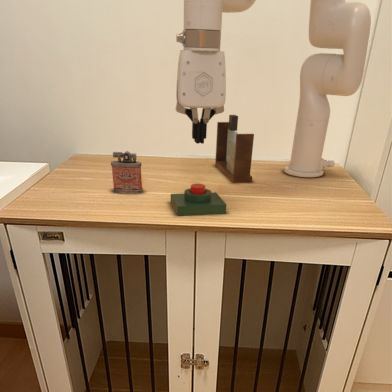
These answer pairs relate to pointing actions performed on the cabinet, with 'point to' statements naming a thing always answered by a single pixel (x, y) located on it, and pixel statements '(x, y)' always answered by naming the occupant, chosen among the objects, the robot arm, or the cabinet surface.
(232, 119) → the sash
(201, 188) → the button
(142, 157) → the cabinet surface
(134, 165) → the lighter
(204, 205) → the alarm box
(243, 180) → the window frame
